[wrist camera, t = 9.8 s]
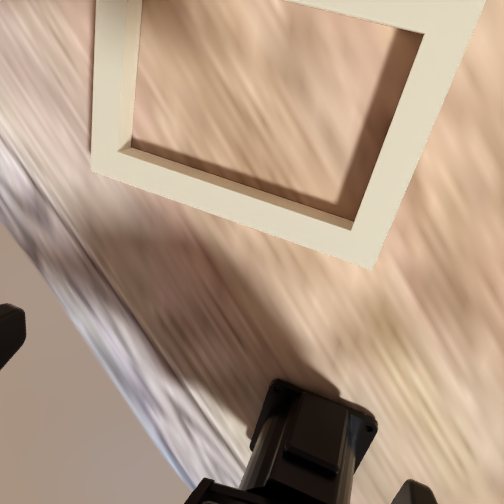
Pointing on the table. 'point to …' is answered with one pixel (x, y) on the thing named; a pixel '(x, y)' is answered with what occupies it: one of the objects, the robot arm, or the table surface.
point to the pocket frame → (259, 202)
